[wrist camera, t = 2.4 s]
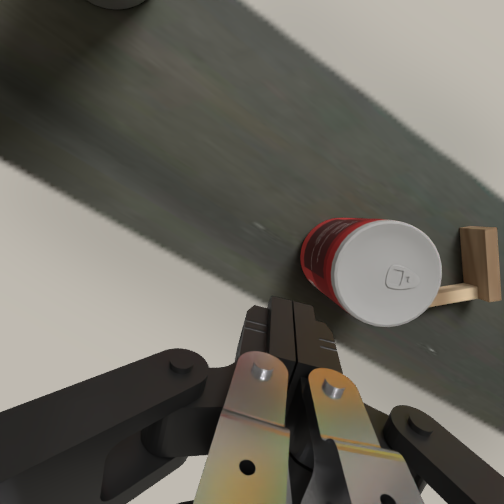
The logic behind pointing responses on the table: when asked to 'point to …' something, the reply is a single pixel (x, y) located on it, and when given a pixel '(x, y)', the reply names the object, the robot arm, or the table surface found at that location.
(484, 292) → the bar
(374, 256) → the canned food
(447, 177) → the table surface
